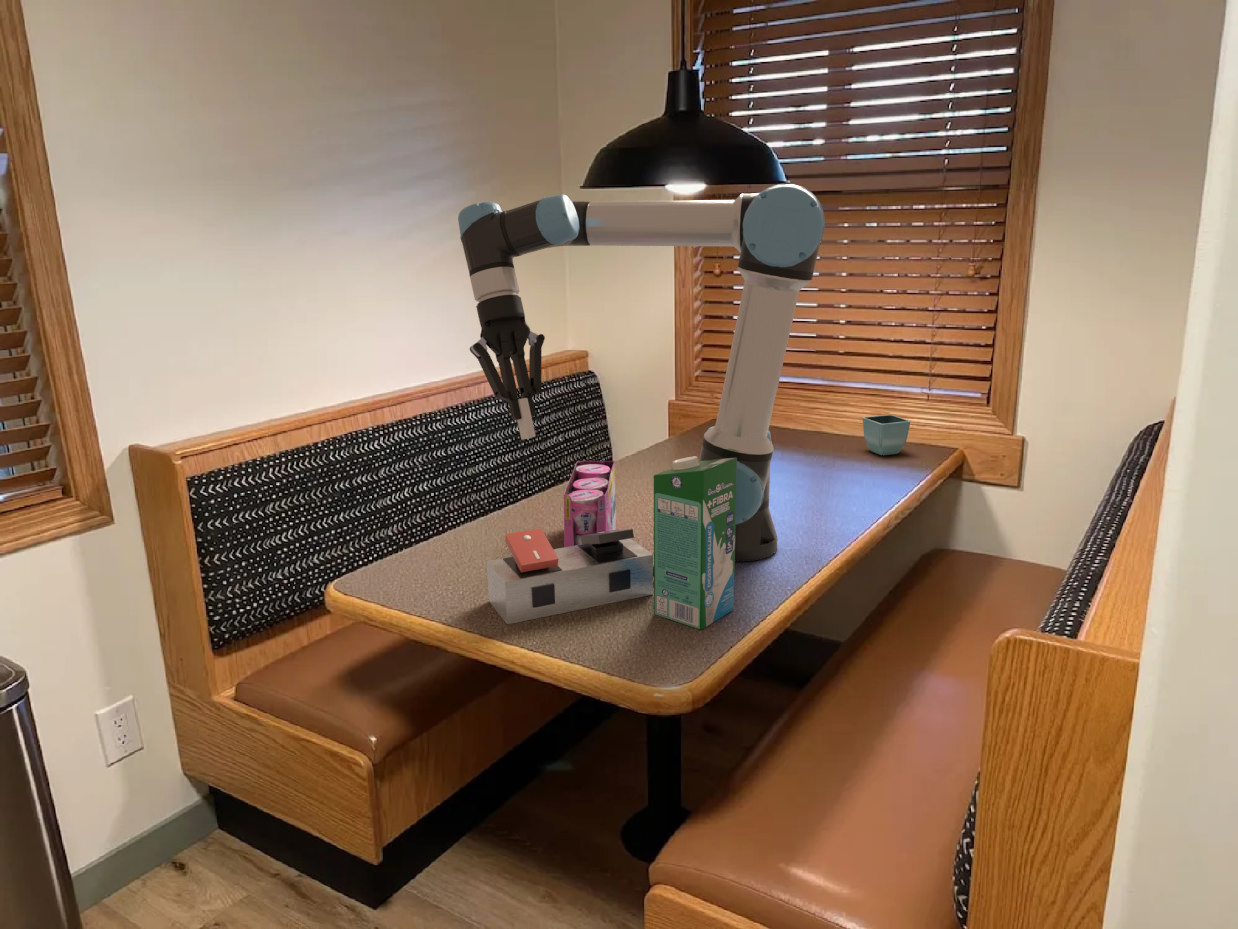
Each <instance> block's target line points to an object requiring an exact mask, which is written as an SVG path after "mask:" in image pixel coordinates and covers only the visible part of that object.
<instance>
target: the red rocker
mask: <svg viewBox="0 0 1238 929" xmlns="http://www.w3.org/2000/svg"><path fill="white" fill-rule="evenodd" d="M504 536H505V537H504V542H505V544H506V546H507V547H508V549H509V551H510V552H509V553H511V557H512V556H513V558H514V560H515V562H516V563H517V565H518V567H519V569H520V571H521V572H527V571H532V570H538V569H543V568H549V567H554V566H558V557H557V555H556V554H555V552H554V550H553V549H554V548H553V547H552V544H551V543H550V541H549V540H548V538H547V536H546V534H545V533H544V531H543V529H542V528H541V527H539V528H534V529H528V530H523V531H516V532H510V533H505V535H504Z"/></svg>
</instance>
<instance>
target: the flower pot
mask: <svg viewBox="0 0 1238 929" xmlns="http://www.w3.org/2000/svg"><path fill="white" fill-rule="evenodd" d="M910 425H911V420H909V419H906V418H902V417H900V416H896V415H893V414H883V415H872V416H863V417H862V427H863V437H864V441H865V443H866V445H867V447H868V449H869V451H870V452H872V453H874V454H877V455H880V456H882V455H883V456H888V455H897V454H899V453H901V451H902V449H903V448H904V446H905V445H906V442H907V440H908V436H909V431H910Z"/></svg>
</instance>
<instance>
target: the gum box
mask: <svg viewBox="0 0 1238 929" xmlns="http://www.w3.org/2000/svg"><path fill="white" fill-rule="evenodd" d="M616 499H617V498H616V462H615V460H577V461H576V463H575V465H574V468H573V471H572V473H571V476H570V477H569V481H568V483H567V486H566V487H565V490H564V493H563V525H564V526H563V531H564V532H563V548H564V547H570V546H575V545H581V544H582V542H581V536H582V535H588V534H594V533H599V532H605V531H611V530H617V508H616V506H617V505H616V504H617V500H616Z"/></svg>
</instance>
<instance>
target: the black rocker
mask: <svg viewBox="0 0 1238 929" xmlns="http://www.w3.org/2000/svg"><path fill="white" fill-rule="evenodd" d="M630 538H631V539H635V536H634V530H633V528H630V529H629V528H628V529H616V530H611V531H605V532H599V533H594V534H588V535H582V536H581V542H582V544H602V543H607V542H613V541H619V540H624V539H630Z"/></svg>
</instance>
